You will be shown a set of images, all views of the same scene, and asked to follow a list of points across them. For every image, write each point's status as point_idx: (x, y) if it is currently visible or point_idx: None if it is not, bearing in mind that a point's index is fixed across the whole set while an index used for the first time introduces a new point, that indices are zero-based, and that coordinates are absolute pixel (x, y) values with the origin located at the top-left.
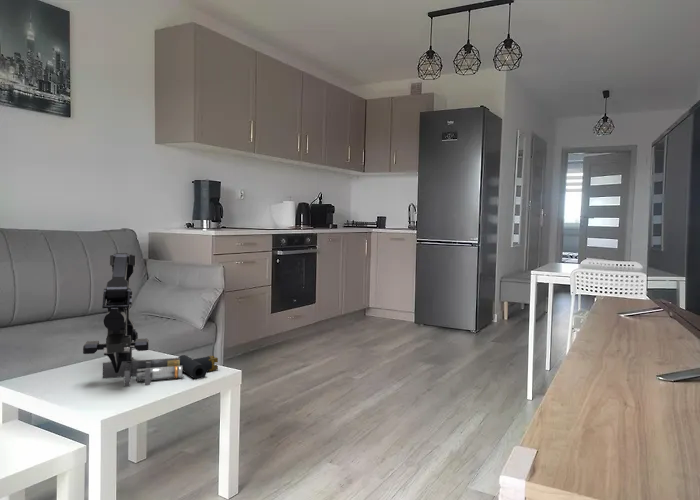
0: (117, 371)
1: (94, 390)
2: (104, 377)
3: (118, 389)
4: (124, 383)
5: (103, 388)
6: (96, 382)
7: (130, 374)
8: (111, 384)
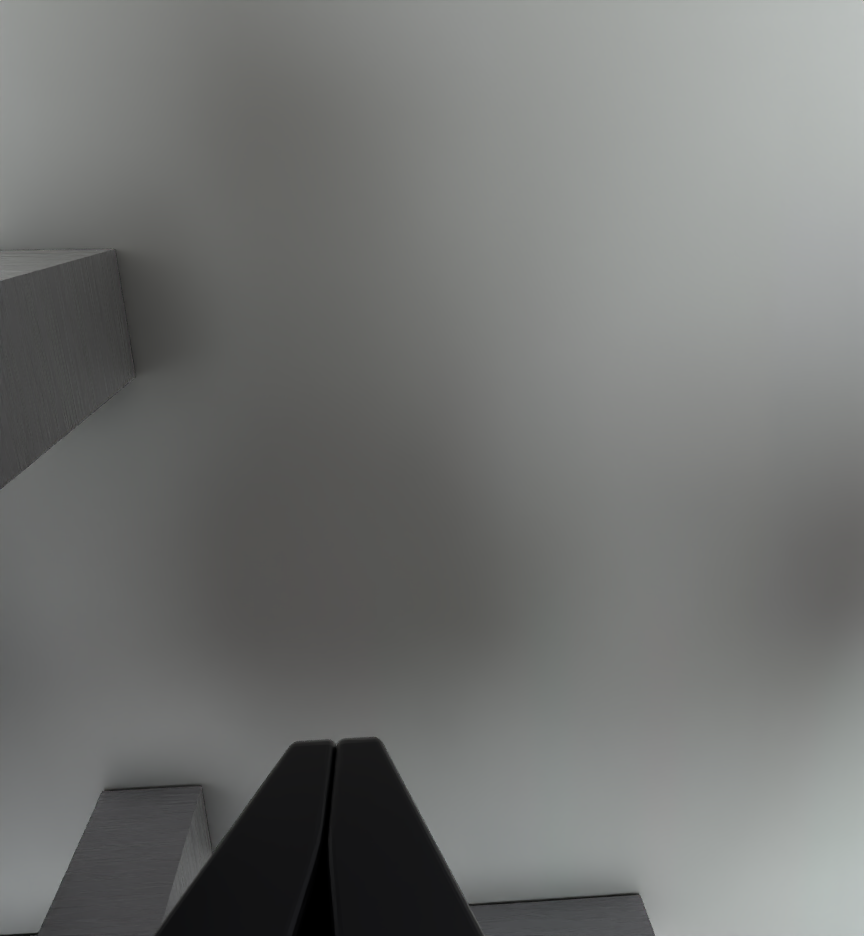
0: (310, 767)
1: (832, 126)
2: (612, 909)
3: (229, 29)
4: (79, 262)
5: (621, 246)
6: (749, 704)
7: (77, 876)
8: (457, 519)
